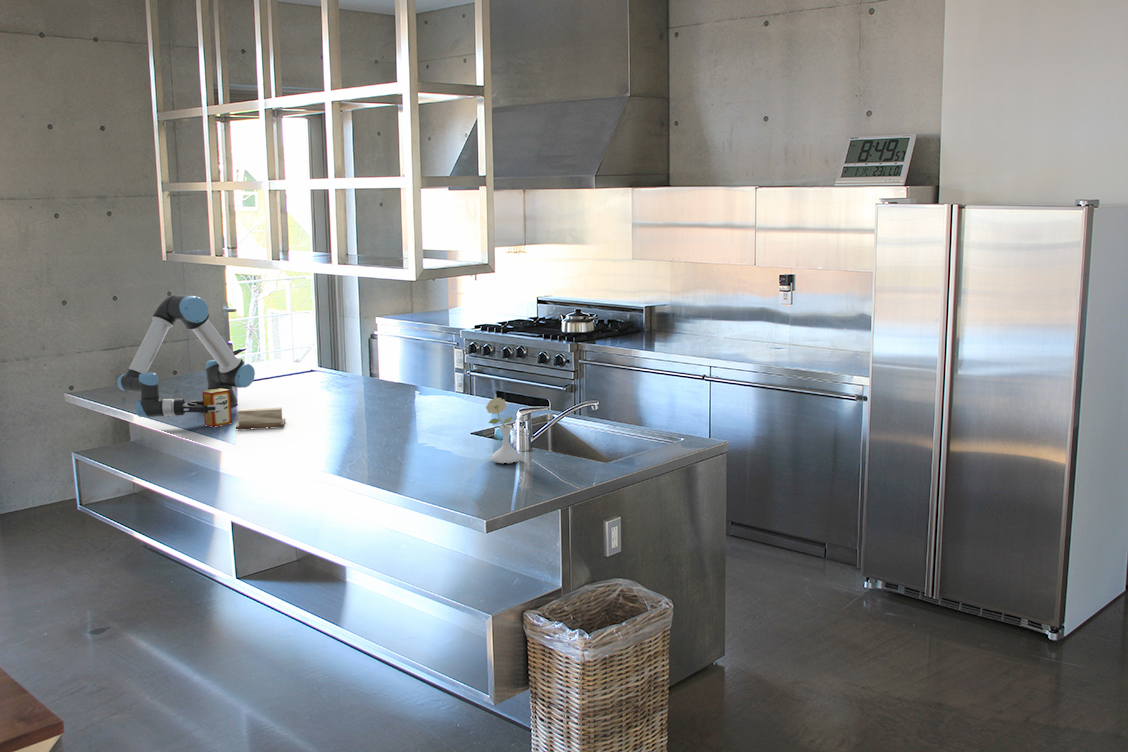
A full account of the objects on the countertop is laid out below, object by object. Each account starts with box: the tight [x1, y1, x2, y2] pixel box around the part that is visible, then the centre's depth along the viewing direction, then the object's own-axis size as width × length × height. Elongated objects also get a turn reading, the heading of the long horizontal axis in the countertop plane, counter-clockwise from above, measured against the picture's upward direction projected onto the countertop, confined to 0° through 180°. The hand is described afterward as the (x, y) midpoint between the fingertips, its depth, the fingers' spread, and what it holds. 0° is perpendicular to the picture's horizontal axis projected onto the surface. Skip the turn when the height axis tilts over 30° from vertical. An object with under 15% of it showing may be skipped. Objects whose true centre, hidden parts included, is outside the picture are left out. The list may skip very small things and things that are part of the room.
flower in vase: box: [485, 397, 522, 464], centre depth 354 cm, size 13×11×25 cm
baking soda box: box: [202, 388, 233, 428], centre depth 420 cm, size 10×6×16 cm
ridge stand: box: [235, 407, 286, 430], centre depth 418 cm, size 12×20×8 cm, turn 102°
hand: (225, 404), depth 420 cm, fingers open, 12 cm apart
